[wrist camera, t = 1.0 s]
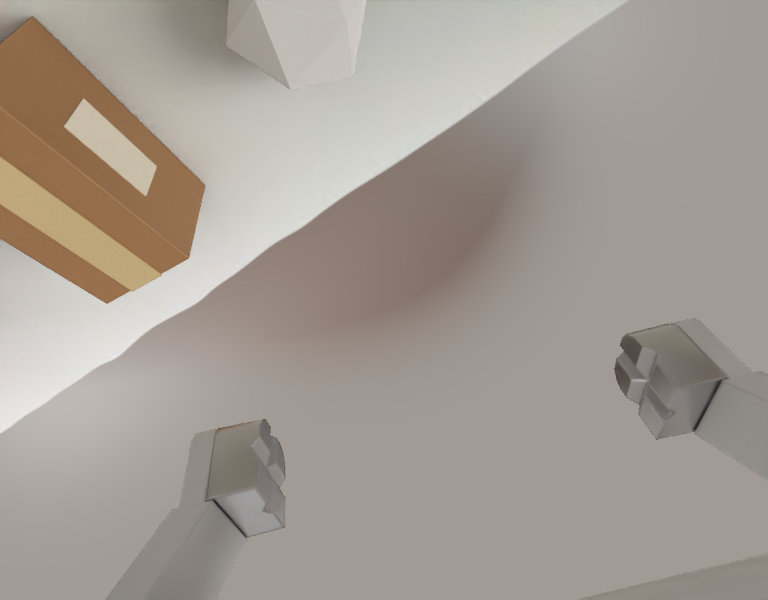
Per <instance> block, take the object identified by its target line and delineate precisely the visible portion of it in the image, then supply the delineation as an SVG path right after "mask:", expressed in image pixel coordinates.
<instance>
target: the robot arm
mask: <svg viewBox="0 0 768 600" xmlns="http://www.w3.org/2000/svg"><path fill="white" fill-rule="evenodd" d="M620 346H621V347H622V349H623V350H624V352H623V353H622V354H621V355H620V356H619V357H618V358H617V359H616V364H615V368H614V369H615V374H616V380H617V382H618V384H619V386H620V389H621V390H622V391H623V393H624V395H625V396H626V398H628V399H630V400H631V401H633V402H635V403H637V404H639V412H638V415H639V416H640V418H641V419H642V420H643V422H644V423H645V425H646V426H647V427H648V429H649V430H650V432H651V433H652V435H653V436H654V437H655V439H656V440H657V439H662V438H667V437H671V436H676V435H681V434H686V433H691V432H695V434H696V435H697V436H698V437H700V438H701V439H703V440H705V441H706V442H708V443H709V444H711V445H712V446H714V447H716V448H717V449H719V450H720V451H722V452H724V453H725V454H726V455H728V456H730V457H731V458H733V459H734V460H736V461H737V462H739V463H740V464H742V465H744V466H745V467H747V468H748V469H750V470H751V471H753V472H755V473H756V474H758V475H759V476H761V477H762V478H764V479H766V480H767V481H768V374H766V373H763V372H761V371H759V372H754V373H753V372H752V371H751V370H750V369H749V368H748V367H747V366H746V365H745V364H744V363H743V362H742V361H741V360H740V359H739V358H738V357H737V356H736V355H735V354H734V353H733V352H732V351H731V350H730V349H729V348H728V347H727V346H726V345H725V344H723V343H722V341H720V339H718V338H717V337H716V336H715V335H714V334H713V333H712V332H711V331H710V330H709V329H708V328H707V327H706V326H705V325H704V324H703V323H702V322H701V321H699V320H697V319H695V318H692V319H687V320H683V321H679V322H675V323H671V324H664V325H660V326H656V327H652V328H648V329H644V330H640V331H636V332H632V333H628V334H626V335H625V336H624V337H623V338H622V340H621V344H620ZM270 433H271V427H270V425H269V424H268V422H267V421H266V419H262V420H257V421H252V422H248V423H243V424H238V425H233V426H228V427H223V428H218V429H214V430H210V431H205V432H200V433H197V434H195V436H194V438H193V440H192V441H191V445H190V451H189V457H188V461H187V467H186V472H185V478H184V483H183V488H182V493H181V499H180V504H179V508H176V509H172V510H171V512H170V513H169V514H168V515H167V517H166V518H165V520H164V521H163V522H162V524H161V525H160V526H159V528H158V529H157V530H156V532H155V533H154V534H153V536H152V537H151V538H150V540H149V541H148V542H147V544H146V545H145V547H144V548H143V549H142V550H141V552H140V553H139V555H138V556H137V557H136V559H135V560H134V561H133V563H132V564H131V565H130V567H129V568H128V569H127V571H126V572H125V573H124V575H123V576H122V577H121V579H120V580H119V582H118V583H117V584H116V586H115V587H114V588H113V590H112V591H111V592H110V594H109V595H108V596H107V598H106V599H105V600H218V598H219V596H220V594H221V592H222V589H223V588H224V586H225V584H226V582H227V580H228V578H229V576H230V574H231V572H232V570H233V568H234V566H235V564H236V562H237V560H238V558H239V556H240V554H241V552H242V550H243V548H244V546H245V544H246V542H247V537H251V536H255V535H258V534H262V533H266V532H270V531H274V530H277V529H281V528H285V496H284V495H283V493H282V492H281V490H280V486H281V485H282V483H283V481H284V480H285V461H284V455H283V450H282V447H281V444H280V442H279V441H278V439H277V438H276V437H273V436H271V435H270ZM577 600H768V553H766V554H762V555H758V556H754V557H750V558H746V559H742V560H737V561H733V562H729V563H725V564H721V565H717V566H713V567H708V568H705V569H700V570H696V571H692V572H688V573H684V574H679V575H676V576H671V577H667V578H663V579H659V580H655V581H650V582H646V583H642V584H638V585H634V586H630V587H626V588H621V589H618V590H614V591H609V592H605V593H601V594H597V595H593V596H589V597H584V598H580V599H577Z"/></svg>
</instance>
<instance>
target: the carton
mask: <svg viewBox="0 0 768 600" xmlns="http://www.w3.org/2000/svg"><path fill="white" fill-rule="evenodd" d="M204 189H205V185H204V184H203V183H202V182H201V181H200V180H199V179H198V178H197V177H196V176H195V175H194V174H193V173H192V172H191V171H190V170H189V169H188V168H187V167H186V166H185V165H184V164H183V163H182V162H181V161H180V160H179V159H178V158H177V157H176V156H175V155H174V154H173V153H172V152H171V151H170V150H169V149H168V148H167V147H166V146H165V145H164V144H163V143H162V142H160V141H159V140H158V139H157V138H156V137H155V136H154V135H153V134H152V133H151V132H150V131H149V130H148V129H147V128H146V127H145V126H144V125H143V124H142V123H141V122H140V121H139V120H138V119H137V118H136V117H135V116H134V115H133V114H132V113H131V112H130V111H129V110H128V109H127V108H126V107H125V106H124V105H123V104H122V103H121V102H120V101H119V100H118V99H117V98H116V97H115V96H114V95H113V94H112V93H111V92H110V91H108V90H107V89H106V88H105V87H104V86H103V85H102V84H101V83H100V82H99V81H98V80H97V79H96V78H95V77H94V76H93V75H92V74H91V73H90V72H89V71H88V70H87V69H86V68H85V67H84V66H83V65H82V64H81V63H80V62H79V61H78V60H77V59H76V58H75V57H74V56H73V55H72V54H71V53H70V52H69V51H68V50H67V49H66V48H65V47H64V46H63V45H62V44H61V43H60V42H59V41H58V40H57V39H55V38H54V37H53V36H52V35H51V34H50V33H49V32H48V31H47V30H46V29H45V28H44V27H43V26H42V25H41V24H40V23H39V22H38V21H37V20H36V19H35V18H34V17H31V18H30V19H28V20H27V21H26V22H25V23H24V24H23V25H21V26H20V27H19V28H18V29H17V30H15V31H14V32H13V33H12V34H11V35H9V36H8V37H7V38H6V39H5V40H4V41H2V42H1V43H0V239H2V240H3V241H5V242H6V243H8V244H10V245H11V246H13V247H15V248H16V249H18V250H20V251H21V252H23V253H25V254H26V255H28V256H29V257H31V258H33V259H34V260H36V261H38V262H39V263H41V264H43V265H44V266H46V267H47V268H49V269H51V270H52V271H54V272H56V273H57V274H59V275H61V276H62V277H64V278H65V279H67V280H69V281H70V282H72V283H74V284H75V285H77V286H79V287H80V288H82V289H84V290H85V291H87V292H88V293H90V294H92V295H93V296H95V297H97V298H98V299H100V300H102V301H103V302H105V303H109V302H111V301H113V300H115V299H116V298H118V297H120V296H122V295H124V294H125V293H127V292H129V291H134V290H136V289H138V288H140V287H142V286H143V285H145V284H147V283H149V282H151V281H152V280H154V279H156V278H158V277H160V276H161V275H162V273H163V272H165V271H167V270H169V269H171V268H172V267H174V266H176V265H178V264H180V263H181V262H183V261H185V260H187V259H189V256H190V251H191V247H192V242H193V238H194V233H195V229H196V224H197V220H198V216H199V211H200V207H201V202H202V198H203V193H204Z"/></svg>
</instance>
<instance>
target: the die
mask: <svg viewBox="0 0 768 600" xmlns="http://www.w3.org/2000/svg"><path fill="white" fill-rule="evenodd" d="M366 2H367V0H229V1H228V16H227V32H226V46H227V47H228V48H230V49H231V50H233V51H234V52H236V53H237V54H239V55H240V56H242V57H243V58H245V59H246V60H248V61H249V62H251V63H252V64H253V65H255V66H256V67H258V68H259V69H261V70H262V71H264V72H265V73H267V74H268V75H270V76H271V77H273V78H274V79H275V80H277V81H278V82H280V83H281V84H283V85H284V86H286V87H287V88H289V89H290V90H293V89H298V88H303V87H308V86H312V85H317V84H322V83H327V82H332V81H336V80H341V79H346V78H351V77H354V71H355V65H356V60H357V54H358V48H359V42H360V37H361V31H362V25H363V19H364V13H365V8H366Z"/></svg>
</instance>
